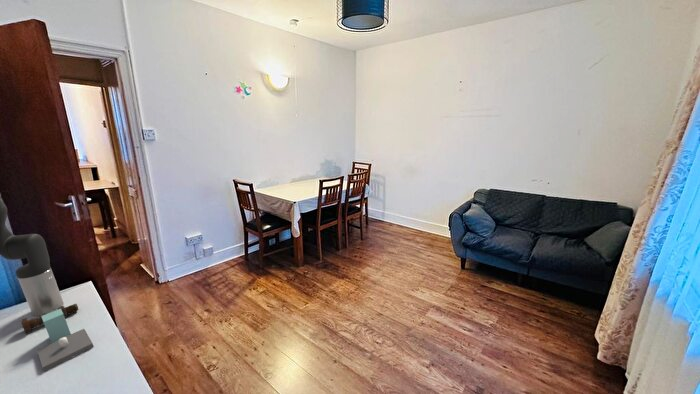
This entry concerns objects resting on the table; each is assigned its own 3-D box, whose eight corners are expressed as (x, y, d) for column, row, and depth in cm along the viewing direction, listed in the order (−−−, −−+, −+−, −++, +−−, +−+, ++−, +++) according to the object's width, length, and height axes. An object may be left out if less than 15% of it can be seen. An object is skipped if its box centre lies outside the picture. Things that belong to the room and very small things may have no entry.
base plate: (38, 353, 95) (34, 342, 94) (85, 331, 105) (81, 321, 103) (44, 371, 88) (39, 359, 87) (93, 346, 98) (89, 335, 96)
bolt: (80, 315, 117) (26, 336, 105) (76, 306, 119) (23, 326, 107) (78, 307, 114) (23, 328, 102) (74, 298, 116) (19, 317, 104)
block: (49, 337, 103) (41, 316, 100) (68, 328, 106) (60, 308, 104) (51, 343, 100) (43, 321, 97) (71, 334, 103) (63, 313, 101)
